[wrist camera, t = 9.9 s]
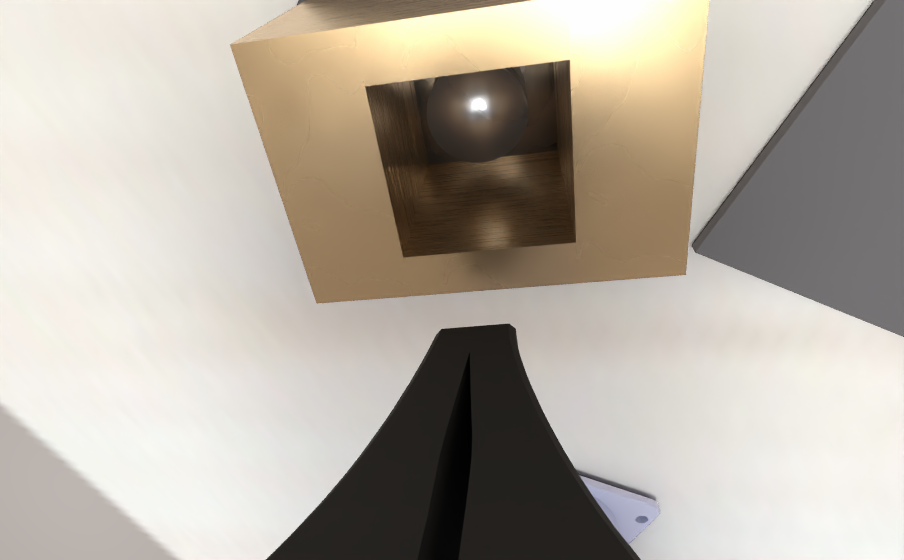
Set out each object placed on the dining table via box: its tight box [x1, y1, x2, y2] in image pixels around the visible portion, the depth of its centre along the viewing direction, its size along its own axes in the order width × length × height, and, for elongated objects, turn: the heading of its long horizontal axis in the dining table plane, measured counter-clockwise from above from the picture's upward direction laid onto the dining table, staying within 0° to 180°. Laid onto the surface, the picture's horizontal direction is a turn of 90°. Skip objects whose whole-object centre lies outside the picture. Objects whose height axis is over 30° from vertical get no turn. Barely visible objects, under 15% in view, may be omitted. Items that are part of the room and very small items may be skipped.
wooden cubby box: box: [230, 0, 709, 303], centre depth 13 cm, size 6×8×5 cm
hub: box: [297, 0, 558, 165], centre depth 15 cm, size 10×10×3 cm
